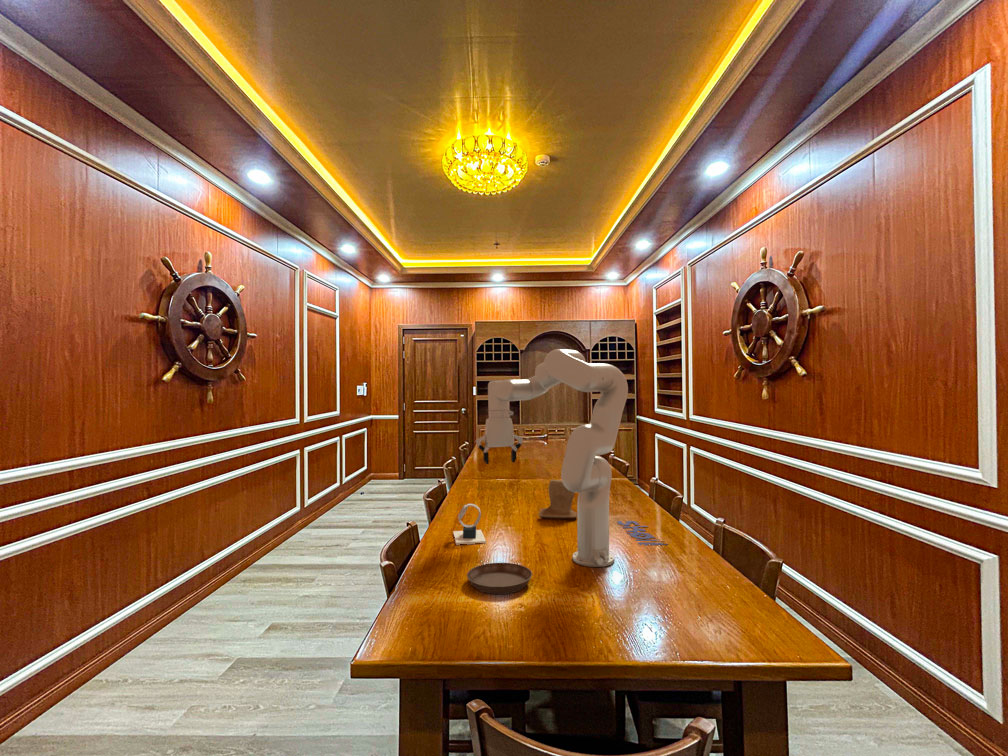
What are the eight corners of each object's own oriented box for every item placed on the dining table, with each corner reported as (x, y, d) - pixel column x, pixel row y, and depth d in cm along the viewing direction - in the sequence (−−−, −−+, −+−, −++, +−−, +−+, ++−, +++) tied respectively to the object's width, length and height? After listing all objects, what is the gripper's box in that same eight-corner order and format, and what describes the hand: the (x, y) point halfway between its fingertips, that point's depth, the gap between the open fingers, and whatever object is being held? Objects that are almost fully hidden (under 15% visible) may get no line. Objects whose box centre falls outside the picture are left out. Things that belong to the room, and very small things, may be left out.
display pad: (485, 543, 171) (485, 540, 171) (456, 545, 169) (456, 542, 169) (480, 531, 183) (480, 529, 183) (453, 533, 182) (453, 531, 182)
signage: (615, 520, 196) (640, 520, 196) (615, 522, 196) (640, 522, 196) (638, 544, 168) (668, 543, 168) (638, 546, 168) (668, 545, 168)
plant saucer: (459, 577, 142) (459, 566, 142) (517, 568, 148) (517, 558, 148) (478, 603, 126) (478, 590, 126) (543, 592, 132) (543, 580, 132)
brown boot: (576, 513, 208) (575, 477, 208) (577, 521, 196) (577, 483, 197) (539, 513, 210) (539, 476, 210) (538, 520, 198) (538, 482, 198)
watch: (458, 533, 179) (458, 502, 179) (481, 533, 179) (481, 502, 179) (457, 538, 173) (457, 506, 173) (480, 538, 173) (480, 506, 173)
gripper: (519, 413, 187) (521, 460, 186) (473, 415, 183) (474, 462, 183) (525, 414, 179) (526, 463, 179) (476, 416, 176) (477, 465, 175)
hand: (500, 462), depth 181 cm, fingers open, 9 cm apart
